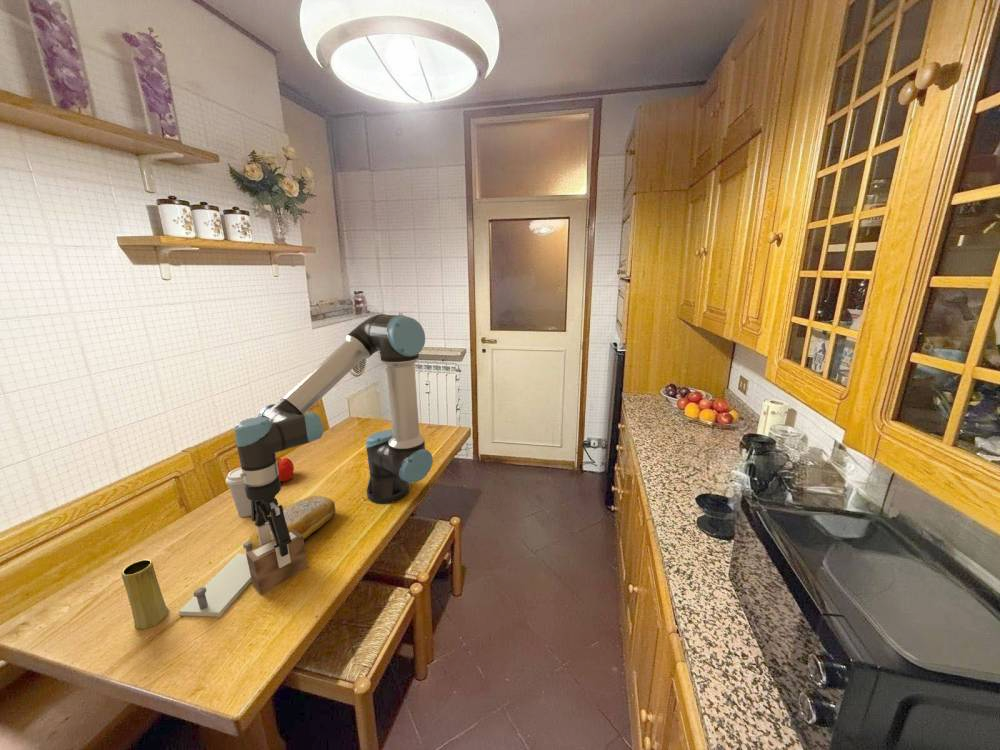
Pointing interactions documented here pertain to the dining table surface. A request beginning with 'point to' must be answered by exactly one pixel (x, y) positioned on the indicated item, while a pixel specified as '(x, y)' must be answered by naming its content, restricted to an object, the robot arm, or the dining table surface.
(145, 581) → the vase
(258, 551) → the brown block
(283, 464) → the tomato
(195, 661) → the dining table surface
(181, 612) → the white board with pegs
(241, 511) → the coffee cup
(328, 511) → the bread
